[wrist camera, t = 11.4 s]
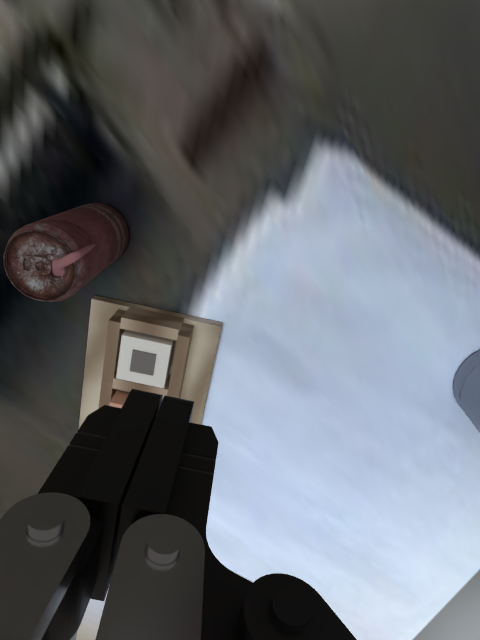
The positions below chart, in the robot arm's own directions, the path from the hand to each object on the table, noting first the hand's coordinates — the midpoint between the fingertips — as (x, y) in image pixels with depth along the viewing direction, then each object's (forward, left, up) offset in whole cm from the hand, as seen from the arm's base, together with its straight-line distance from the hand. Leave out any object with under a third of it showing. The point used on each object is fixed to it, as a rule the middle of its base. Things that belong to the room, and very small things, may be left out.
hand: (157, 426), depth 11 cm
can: (+13, +5, -37) cm, 40 cm away
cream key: (+6, +16, -34) cm, 38 cm away
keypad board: (+6, +23, -37) cm, 44 cm away
